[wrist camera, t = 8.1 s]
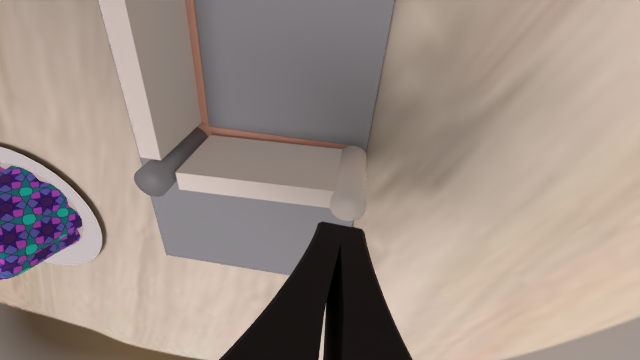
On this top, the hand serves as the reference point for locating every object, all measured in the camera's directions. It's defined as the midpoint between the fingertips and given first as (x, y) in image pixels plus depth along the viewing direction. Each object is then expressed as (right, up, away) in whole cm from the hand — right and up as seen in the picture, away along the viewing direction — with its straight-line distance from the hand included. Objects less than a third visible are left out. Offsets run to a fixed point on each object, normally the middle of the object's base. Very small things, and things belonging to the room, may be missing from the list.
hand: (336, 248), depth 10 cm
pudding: (-23, 0, +16) cm, 28 cm away
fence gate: (-2, +4, +8) cm, 9 cm away
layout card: (-5, +4, +9) cm, 11 cm away
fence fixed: (-7, +8, +6) cm, 13 cm away
